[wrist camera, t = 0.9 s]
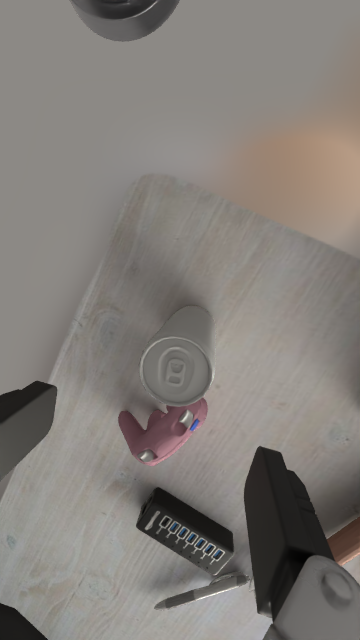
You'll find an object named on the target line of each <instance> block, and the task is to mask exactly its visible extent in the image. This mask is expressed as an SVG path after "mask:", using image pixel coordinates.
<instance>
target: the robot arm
mask: <svg viewBox="0 0 360 640" xmlns="http://www.w3.org/2000/svg"><path fill="white" fill-rule="evenodd" d="M102 1H106V2H121V1H125V0H102ZM56 396H57V387H56V386H54V385H50V384H47V383H44V382H40V381H35V382H33V383H32V384H30V385H28V386H27V387H25V388H24V389H22V390H19V389H18V390H15V391H11V392H8V393H5V394H2V395H1V396H0V481H1V480H2V479H3V478H4V477H5V476H6V475H7V474H8V473H9V472H10V471H11V470H12V469H13V468H14V467H15V466H16V465H17V464H18V463H19V462H20V461H21V460H22V459H23V458H24V457H25V456H26V455H27V454H28V453H29V452H30V451H31V450H32V449H33V448H34V447H35V446H36V445H37V444H38V443H39V442H40V441H41V440H42V439H43V438H44V437H45V436H46V435H47V434H48V432H49V430H50V428H51V426H52V423H53V418H54V411H55V404H56ZM244 503H245V512H246V520H247V528H248V537H249V545H250V553H251V562H252V570H253V578H254V587H255V595H256V603H257V612H258V614H261V615H264V616H267V617H270V618H272V620H273V624H271V625H270V627H269V629H268V631H267V632H266V634H265V636H264V638H263V640H360V585H359V584H358V583H357V581H356V580H355V579H354V578H353V577H352V576H351V575H350V573H348V572H347V571H346V570H345V569H344V568H343V567H342V566H340V565H339V564H338V563H336V562H335V559H334V557H333V554H332V552H331V549H330V547H329V544H328V542H327V539H326V537H325V534H324V532H323V530H322V527H321V525H320V522H319V520H318V517H317V515H316V514H315V510H314V507H313V505H312V502H310V497H309V495H308V493H307V490H306V488H305V485H304V484H303V483H302V481H301V480H300V479H299V478H298V476H297V475H296V474H295V472H294V471H290V470H287V468H286V465H285V462H284V460H283V457H282V454H281V453H280V452H278V451H275V450H271V449H268V448H264V447H261V446H259V447H258V448H257V450H256V453H255V456H254V459H253V462H252V465H251V467H250V470H249V473H248V476H247V479H246V483H245V488H244ZM0 640H48V639H47V638H46V637H45V636H44V635H43V634H42V633H41V632H39V631H38V630H37V629H36V628H35V627H34V626H33V625H32V624H31V623H30V622H29V621H28V620H27V619H26V618H25V617H24V616H22V615H21V614H20V613H19V612H18V611H17V610H16V609H15V608H12V607H9V606H7V605H4V604H1V603H0Z"/></svg>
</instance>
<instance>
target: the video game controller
mask: <svg viewBox="0 0 360 640" xmlns="http://www.w3.org/2000/svg"><path fill="white" fill-rule="evenodd" d="M167 410H168V413H167V414H165V413H164V412H162V411H160V410H155V411H154V412H153V413H152V414H151V415H150V417H149V420H148V425H147V429H146V430H144V429H143V428H142V427H141V425H140V424H139V423H138V421H137V420H136V419H135V417H134V416H133V415H132V414H130V413H129V412H128V411H122V412H120V414H119V417H118V422H119V426H120V428H121V431H122V433H123V435H124V437H125V439H126V441H127V444H128V446H129V448H130V451H131V453H132V455H133V456H134V457H135V458H136V459H137V460H139V461H140V462H142V463H143V464H146V465H149V466H154V465H156V464H158V463H159V462H161V461H163V460H165V459H166V458H168V457H169V456H171V455H172V454H173V453H175V452H176V451H177V450H178V449H179V448H180V447H181V446H182V445H183V444H184V443H185V442H186V441H187V439H188V438H189V437H190V435H191V434H192V433H193V431H194V430H196V429H198V428H199V427H200V426H201V425H202V424H203V422H204V421H205V419H206V416H207V412H208V407H207V403H206V401H205V399H204V398H201V399H199V400H198V401H197V402H195V403H192V404H190V405H187V406H179V407H178V406H169V405H167Z"/></svg>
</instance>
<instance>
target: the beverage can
mask: <svg viewBox="0 0 360 640" xmlns="http://www.w3.org/2000/svg"><path fill="white" fill-rule="evenodd" d="M215 358H216V325H215V321H214V319H213V317H212V316H211V314H210V313H209V312H208V311H206V310H205V309H203V308H201V307H198V306H186V307H183V308H181V309H179V310H178V311H177V312H176V313H174V314H173V316H172V317H171V318H170V319H169V320H168V321H167V322H166V323H165V324H164V326H163V327H162V328H161V329H160V330H159V331H158V332H157V333H156V334H155V336H154V337H153V338H152V339H151V340H150V341H149V342H148V344H147V345H146V347H145V349H144V350H143V353H142V356H141V360H140V363H139V375H140V379H141V382H142V384H143V386H144V388H145V390H146V391H147V392H148V393H149V394H150V395H151V396H152V397H153V398H154V399H156V400H157V401H159V402H161V403H163V404H166V405H169V406H178V407H179V406H187V405H190V404H192V403H195V402H197V401H198V400H199V399H201V398H202V397H203V396H204V395H205V394H206V392H207V391H208V390H209V388H210V386H211V384H212V381H213V379H214V376H215Z"/></svg>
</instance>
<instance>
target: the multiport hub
mask: <svg viewBox="0 0 360 640" xmlns="http://www.w3.org/2000/svg"><path fill="white" fill-rule="evenodd" d="M136 527H137V528H138V529H139V530H141V531H142V532H144V533H145V534H147V535H149V536H150V537H152V538H153V539H155V540H157V541H158V542H160V543H161V544H163V545H165V546H166V547H168V548H169V549H171V550H173V551H174V552H176V553H177V554H179V555H181V556H182V557H184V558H186V559H187V560H189V561H190V562H192V563H194V564H195V565H197V566H198V567H200V568H202V569H203V570H205V571H206V572H208V573H210V574H211V575H217V574H218V573H219V571H220V570H221V569H222V568H223V567H224V566H225V565H226V564H227V562H228V561H229V560H230V559H231V558H232V557H233V556H234V544H233V533H232V532H230V531H229V530H227V529H226V528H224V527H222V526H221V525H219V524H218V523H216V522H214V521H213V520H211V519H209V518H208V517H206V516H205V515H203V514H201V513H200V512H198V511H197V510H195V509H193V508H192V507H190V506H188V505H187V504H185V503H184V502H182V501H180V500H179V499H177V498H176V497H174V496H172V495H171V494H169V493H167V492H166V491H164V490H163V489H161V488H159V487H157V488H155V490H154V491H153V492H152V494H151V495H150V497H149V498H148V499H147V501H146V502H145V504H144V505H143V507H142V508H141V511H140V514H139V518H138V521H137V524H136Z"/></svg>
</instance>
